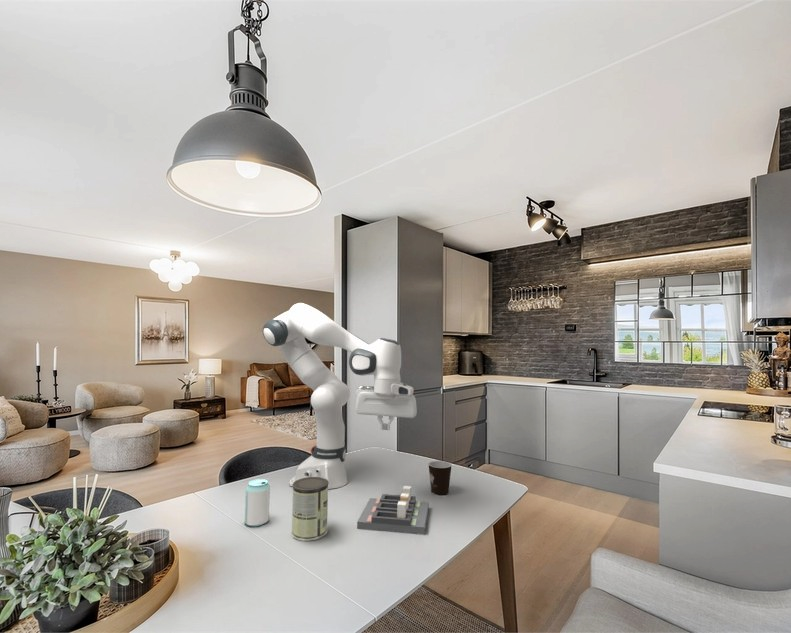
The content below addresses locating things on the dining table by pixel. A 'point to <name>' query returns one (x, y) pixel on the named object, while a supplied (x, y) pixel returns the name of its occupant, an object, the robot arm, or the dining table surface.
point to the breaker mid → (405, 499)
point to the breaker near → (401, 509)
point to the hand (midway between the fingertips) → (385, 429)
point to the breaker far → (407, 491)
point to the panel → (393, 515)
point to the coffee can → (310, 508)
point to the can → (257, 502)
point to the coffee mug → (439, 477)
